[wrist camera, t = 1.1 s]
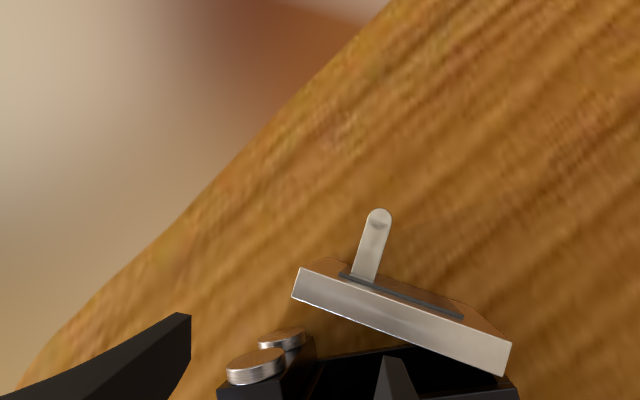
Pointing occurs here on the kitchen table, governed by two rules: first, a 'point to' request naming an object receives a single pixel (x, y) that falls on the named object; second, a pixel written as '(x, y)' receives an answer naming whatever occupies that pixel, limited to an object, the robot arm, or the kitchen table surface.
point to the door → (400, 304)
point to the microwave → (350, 373)
